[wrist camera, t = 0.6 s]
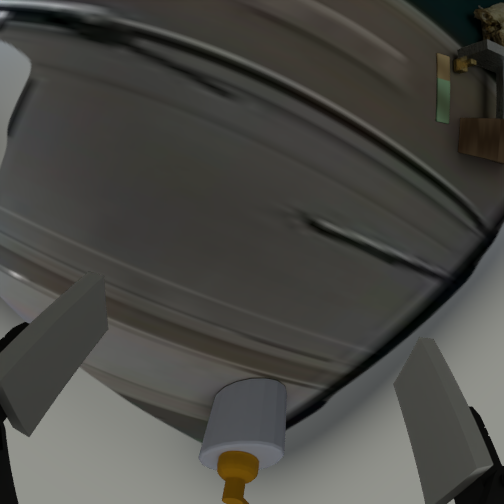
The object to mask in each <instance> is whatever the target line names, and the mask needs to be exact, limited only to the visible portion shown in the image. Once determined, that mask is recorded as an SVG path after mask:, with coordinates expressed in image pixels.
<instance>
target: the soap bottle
mask: <svg viewBox="0 0 504 504" xmlns="http://www.w3.org/2000/svg"><path fill="white" fill-rule="evenodd" d="M286 399H287V393H286V388H285V386H284V385H283V384H281V383H280V382H279V381H277V380H272V379H267V378H255V379H247V380H243V381H238V382H235V383H233V384H231V385H228V386H226V387H224V388H223V389H222V390H221V391H220V392H219V393H217V394H216V397H215V399H214V402H213V406H212V410H211V413H210V417H209V421H208V424H207V428H206V432H205V436H204V439H203V443H202V447H201V451H200V454H199V460H200V462H201V463H202V465H204V466H206V467H208V468H210V469H213V470H217V472H218V474H219V475H220V477H221V478H222V479H224V480H225V481H226V482H225V487H224V492H223V498H222V501H223V502H224V503H226V504H249V503H248V502H247V501H246V500H245V499H244V498H243V495H244V489H245V484H246V483H249V482H251V481H252V480H254V479H255V478H256V477H257V474H258V470H260V469H264V468H268V467H270V466H271V465H274V464H276V463H277V462H279V460H280V459H281V458H282V457H283V455H284V447H285V426H286Z"/></svg>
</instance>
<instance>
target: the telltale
mask: <svg viewBox="0 0 504 504" xmlns="http://www.w3.org/2000/svg"><path fill="white" fill-rule="evenodd" d="M475 65H477V64H476V60H474V59H468V60H466V59H463V58H458V59H455V60H454V72H457V73H464V72H467V68H468V67H471V66H475Z"/></svg>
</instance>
